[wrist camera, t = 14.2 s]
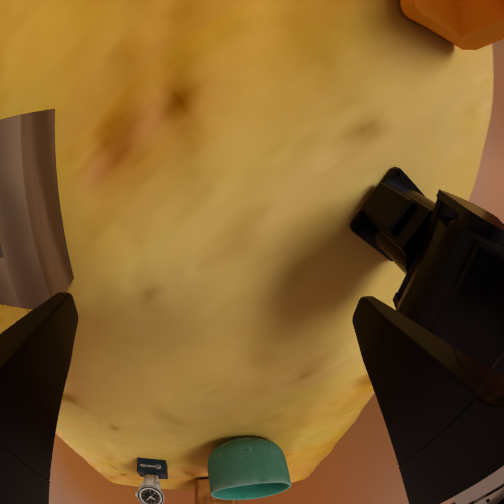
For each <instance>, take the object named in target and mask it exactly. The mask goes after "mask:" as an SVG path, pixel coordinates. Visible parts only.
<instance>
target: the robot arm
mask: <svg viewBox="0 0 504 504" xmlns="http://www.w3.org/2000/svg"><path fill="white" fill-rule="evenodd" d="M396 172H397V175H396V176H395V173H396ZM356 225H358V227H357V228H355V226H356ZM350 229H351V230H352V231H353V232H354V233H355V234H357V235H358V236H359V237H361V238H362V239H363V240H365V241H366V242H367V243H368V244H370V245H371V246H372V247H374V248H375V249H376V250H377V251H379V252H380V253H381V254H383V255H384V256H385V257H386V258H388V259H389V260H390V261H392V262H393V261H394V262H395V263H396V264H397V266H398V267H399V268H400V269H401V270H402V271H403V272H404V273H405V274H406V276H405V278H404V280H403V282H402V284H401V286H400V288H399V290H398V292H397V293H396V294H395V296H394V298H393V302H394V305H395V308H396V310H394V309H393V308H391V307H389V306H388V305H386V304H384V303H383V302H381V301H380V300H378V299H376V298H375V297H372V296H367V297H361V298H360V300H359V302H358V304H357V307H356V310H355V312H354V315H353V326H354V329H355V333H356V336H357V340H358V344H359V347H360V351H361V355H362V358H363V362H364V364H365V367H366V370H367V373H368V375H369V378H370V381H371V383H372V386H373V389H374V392H375V395H376V397H377V400H378V403H379V406H380V409H381V412H382V414H383V418H384V421H385V423H386V426H387V430H388V432H389V436H390V439H391V442H392V445H393V448H394V451H395V455H396V458H397V461H398V465H399V469H400V472H401V476H402V479H403V483H404V486H405V490H406V494H407V498H408V501H409V504H440V503H442V502H444V501H446V500H448V499H450V498H452V497H453V499H454V502H453V503H451V504H504V224H503V223H502V222H501V221H500V220H499V219H498V218H497V217H496V216H494V215H493V214H491V213H489V212H488V211H486V210H484V209H482V208H481V207H479V206H477V205H475V204H474V203H471V202H469V201H467V200H464V199H462V198H459V197H457V196H455V195H452V194H450V193H447V192H445V191H442V190H439V191H438V194H437V201H436V203H434V202H433V201H431V200H430V199H428V198H426V197H425V196H424V195H423V194H422V192H421V191H420V190H419V189H418V188H417V187H416V185H415V184H414V183H413V182H412V181H411V180H410V179H409V178H408V176H407V175H406V174H405V173H404V172H403V171H402V170H401V169H400V168H398V167H393V168H392V169H391V170H390V172H389V173H388V175H387V176H386V177H385V179H384V180H383V181H382V183H381V184H380V185H379V186H378V187H377V189H376V190H375V191H374V193H373V194H372V195H371V197H370V198H369V199H368V201H367V202H366V203H365V205H364V206H363V208H362V209H361V211H360V212H359V213H358V214H357V216H356V217H355V218H354V220H353V221H352V222H351V224H350ZM77 324H78V313H77V310H76V306H75V303H74V300H73V297H72V295H71V294H70V293H67V292H58V293H57V294H55V295H54V296H52V297H51V298H49V299H48V300H47V301H45V302H44V303H42V304H41V305H39V306H38V307H37V308H35V309H34V310H32V311H31V312H29V313H28V314H27V315H25V316H24V317H23V318H21V319H20V320H18V321H17V322H16V323H14V324H13V325H12V326H10V327H9V328H8V329H6V330H5V331H4V332H2V333H1V334H0V504H49V483H50V481H49V479H50V469H51V461H52V453H53V445H54V438H55V432H56V426H57V420H58V415H59V410H60V405H61V400H62V396H63V391H64V387H65V383H66V379H67V375H68V371H69V367H70V362H71V357H72V351H73V345H74V339H75V334H76V329H77Z"/></svg>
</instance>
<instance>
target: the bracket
mask: <svg viewBox="0 0 504 504" xmlns="http://www.w3.org/2000/svg"><path fill="white" fill-rule="evenodd" d="M400 6H401V9H402V11H403V13H404V14H405V15H406V16H407V17H408V18H410V19H412V20H414V21H416V22H418V23H419V24H421V25H423V26H425V27H427V28H428V29H430V30H432V31H434V32H435V33H437V34H439V35H440V36H442V37H444V38H445V39H447V40H448V41H450V42H451V43H453V44H455V45H456V46H458V47H459V48H461V49H462V50H477V49H479V48H482V47H484V46H487V45H489V44H492V43H494V42H497V41H499V40H502V39H504V0H400Z"/></svg>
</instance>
